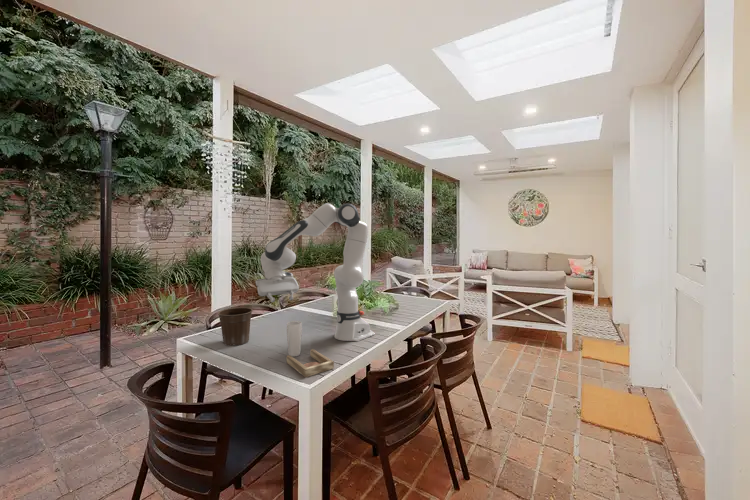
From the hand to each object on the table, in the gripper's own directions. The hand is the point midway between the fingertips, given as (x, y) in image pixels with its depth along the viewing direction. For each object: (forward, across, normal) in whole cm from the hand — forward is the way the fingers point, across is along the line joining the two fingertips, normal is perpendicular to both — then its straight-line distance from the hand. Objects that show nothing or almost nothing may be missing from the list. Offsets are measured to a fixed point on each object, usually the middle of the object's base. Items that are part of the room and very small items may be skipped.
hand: (282, 300), depth 154 cm
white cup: (+26, +1, +8) cm, 27 cm away
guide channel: (+36, +1, -3) cm, 36 cm away
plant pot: (+2, -15, +32) cm, 36 cm away
